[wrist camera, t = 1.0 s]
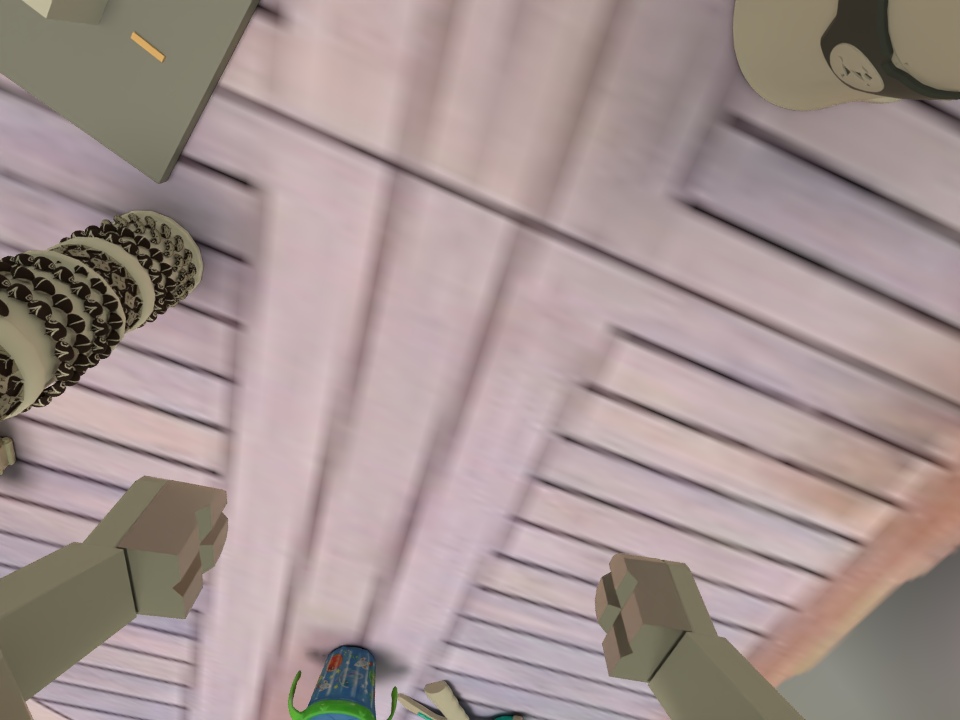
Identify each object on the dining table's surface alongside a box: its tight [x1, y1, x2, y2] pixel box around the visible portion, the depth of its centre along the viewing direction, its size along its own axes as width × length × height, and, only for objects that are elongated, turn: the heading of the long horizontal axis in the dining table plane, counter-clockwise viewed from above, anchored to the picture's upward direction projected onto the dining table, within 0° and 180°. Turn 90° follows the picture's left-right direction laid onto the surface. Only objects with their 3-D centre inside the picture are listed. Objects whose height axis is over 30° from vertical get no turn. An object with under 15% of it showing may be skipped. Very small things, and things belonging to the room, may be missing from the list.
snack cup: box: [288, 646, 397, 720], centre depth 74 cm, size 16×10×10 cm
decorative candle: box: [0, 210, 204, 422], centre depth 36 cm, size 9×9×25 cm
